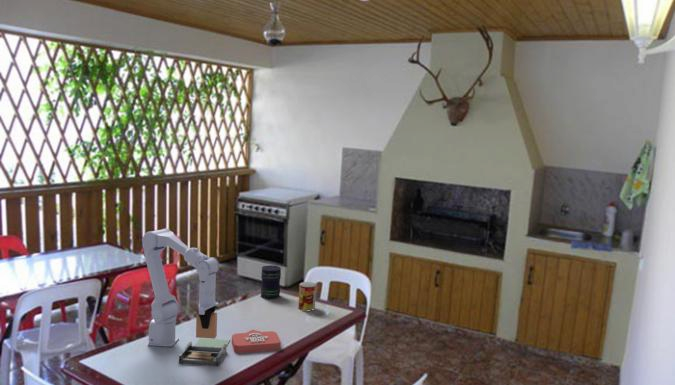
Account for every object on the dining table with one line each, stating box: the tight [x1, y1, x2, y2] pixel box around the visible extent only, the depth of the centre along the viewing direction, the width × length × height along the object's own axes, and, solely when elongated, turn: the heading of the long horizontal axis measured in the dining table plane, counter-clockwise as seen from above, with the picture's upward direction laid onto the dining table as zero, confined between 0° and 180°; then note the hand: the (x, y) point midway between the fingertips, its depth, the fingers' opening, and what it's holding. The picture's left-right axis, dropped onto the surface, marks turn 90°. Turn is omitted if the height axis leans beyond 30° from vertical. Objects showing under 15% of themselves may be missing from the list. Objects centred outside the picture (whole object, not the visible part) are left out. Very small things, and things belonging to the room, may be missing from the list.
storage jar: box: [260, 264, 282, 300], centre depth 256 cm, size 10×10×15 cm
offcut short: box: [191, 352, 211, 356], centre depth 182 cm, size 7×2×2 cm, turn 90°
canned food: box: [298, 281, 317, 312], centre depth 241 cm, size 8×8×12 cm
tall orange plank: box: [195, 311, 218, 339], centre depth 186 cm, size 7×2×9 cm, turn 89°
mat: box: [194, 338, 231, 348], centre depth 195 cm, size 12×8×1 cm, turn 89°
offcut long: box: [186, 355, 215, 360], centre depth 180 cm, size 9×2×2 cm, turn 87°
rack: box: [178, 341, 227, 367], centre depth 183 cm, size 14×12×3 cm
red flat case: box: [231, 329, 281, 354], centre depth 198 cm, size 18×4×15 cm
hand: (206, 326), depth 186 cm, fingers closed on tall orange plank, 2 cm apart
